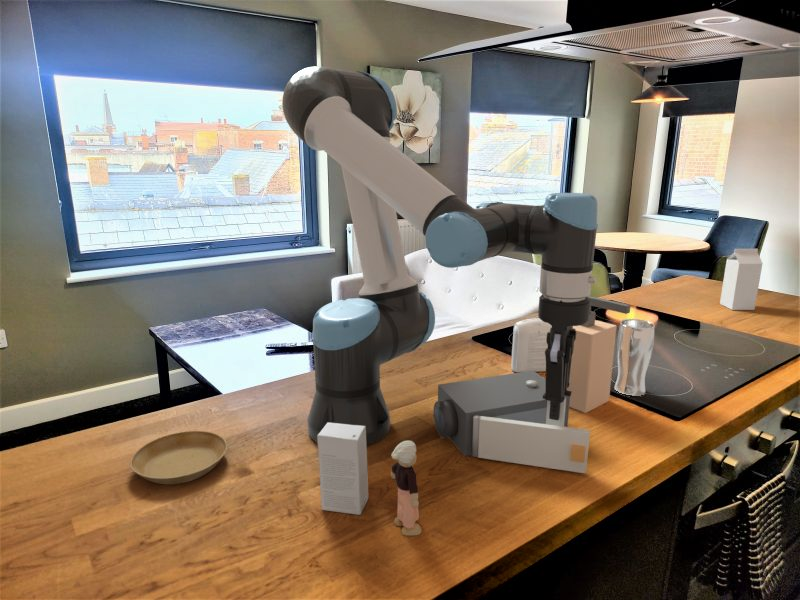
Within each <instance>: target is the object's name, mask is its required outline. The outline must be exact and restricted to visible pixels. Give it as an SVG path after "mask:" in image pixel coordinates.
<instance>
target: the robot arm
mask: <svg viewBox="0 0 800 600" xmlns="http://www.w3.org/2000/svg"><path fill="white" fill-rule="evenodd" d="M281 101H282V112H283V116H284V119H285V122H287V124H288V127H290V130H292V132H293V133H294V134H295V135H296V137H298V138H299V139H300V140H301V141H302V142H303V143H305V144H306V145H307V146H308V148H309V147H310V149H312V150H315V151H318V152H319V151H322V152H323V151H324V152H325V153H326V154H327V155H328V156H330V157H331V158H332V159H333V160H334V161H335V162H336V163H338V164H339V165H340V166H341V171H342V176H343V181H344V185H345V191H346V196H347V200H348V201H347V202H348V205H349V206H348V207H349V211H350V215H351V217H350V218H351V221H352V225H353V231H354V237H355V241H356V247H357V252H358V256H359V262H360V267H361V273H362V276H363V281H364V283H363V286H361V288H360V289H359V292H358V297H353V298H352V297H351V298H347V299H345V300H344V299H338V300H334V301H332V302H329V303H327V304H325V305H323V306H322V307H320V308H319V309H318V310H317V311H316V313H315V314H314V316H313V319H312V333H311V340H312V346H313V361H314V364H313V365H314V377H315V378H314V381H315V392H314V397H313V398H312V399H313V400H312V403H311V407H310V409H309V414H308V416H307V432H308V436H309V437H310V438H311V439H312V440H313V441H314V442H316V443H318V441H317V435H318V434H319V433H320V432H321V430H322V429H323V428H324V426H325V425H326V424H327V423H328V422H329V423H339V424H348V425H359V426H366V446H369V445H372V444H374V443H377V442H379V441H380V440H382V439H383V438H385V437H386V436H387V434H388V433H389V432H390V429H391V416H390V415H391V414H390V412H389V409H388V407H387V406H388V405H387V403H386V401H385V397H384V395H383V393H382V389H381V380H380V379H381V374H380V373H381V372H380V371H381V367H380V366H381V365H383V364H385V363H387V362H390V361H392V360H394V359H396V358H399V357H400V356H402V355H405V354H409V353H411V352H413V351H416V350H417V349H418V348H419V347H421V346H422V345H424V344H425V343H427V341H429V339H430V338H431V336H432V334H433V332H434V329H435V325H436V314H435V309H434V306H433V304H432V302H431V299H429V298H427V295H426V294H425V293H423V292H422V291H420V290H419V285H418V281H417V280H416V279H414V278H412V276H410V275H409V274H408V269H407V264H406V263H407V262H406V258H405V253H404V247H403V242H402V237H401V231H400V227H399V221H398V215H397V214H399V215H400V216H401V217H402V218H403V219H404V220H405V221H407V222H408V224H410V225H412V226H413V227H414V229H416V230H417V231H419V232H420V233H421V234H422V235H424V239H425V240H424V241H425V242H424V243H425V247H426V249H427V251H428V253H429V255H430V256H429V257H430V258H431V259H432V260H433V261H434V262H435V263H437V265H440V266H441V267H444V268H449V269H451V268H454V269H455V268H460V267H467V266H472V265H474V264H476V263H478V262H481V261H484V260H486V259H490V258H491V259H492V258H494V257H497V256H500V255H501V256H502V255H504V254H507V253H521V254H522V253H524V254H532V255H541V266H540V276H539V277H540V278H539V293H540V294H541V295H540V296H539V299H538V314H537V315H538V318H540V319H541V320H542V321H543V322H545V323H549V324H550V325H551V326H552V328H551V329H550V332H548V333H547V340H546V342H547V344H548V349H546V351H545V358H546V371H545V379H546V391H545V393H544V395H543V399H545V400H547V414H546V424H548V425H556V426H564V420H565V408H566V397H564V396H570V397H571V393H572V391H567V388H568V387H569V384H570V383H569V378H570V369H571V361H572V354H573V349H574V341H575V339H576V331H575V330H576V329H574V328H573V326H579V325H583V324H585V323H586V322H587V321H588V319H589V307H590V300H589V299H588V296H591V292H592V291H591V289H592V284H594V283H596V282H597V277H596V276H591V275H592V274H593V268H594V259H595V257H594V256H595V249H596V237H597V229H598V200H597V198H596V197H595V196H594V195H593V194H590V193H585V192H584V193H583V192H552V193H549V194H547V195H546V197H545V200H544V203H543V204H542V205H531V204H521V203H519V204H517V203H505V202H502V201H496V202H482V203H479V204H477V205H476V207H475V208H474V207H472V206H471V205H470V204H468V203H467V202H466V201H464V200H463V199H461V197H459V196H458V195H457V194H455V193H454V192H453V191H452V190H451V189H449V188H448V187H447V186H446V185H444V184H443V183H442V182H440V181H439V180H438V179H437V178H435V177H434V176H433V175H432V174H430V173H429V172H428V171H426V169H424V168H423V167H422V166H420V165H419V164H418V163H417V162H415V161H413V159H412V158H410V157H409V156H408V155H407V154H405V153H403V152H402V151H401V150H400V149H399V148H398V147H396V146H395V145H393V143H391V142H392V141H391V135H390V134H391V133H390V132H391V130H392V129H393V127H394V126H395V123H394V121H395V120H396V119H397V114H398V113H397V112H398V111H397V110H398V108H397V101H396V98H395V95H394V93H393V91H392V89H391V88H390V86H389V85H388V83H387V82H385V80H384V79H382V78H381V77H378V76H377V75H374V74H370V73H368V72H365V71H362V70H355V71H354V70H346V69H345V70H344V69H339V68H332V67H326V66H320V65H319V66H318V65H316V66H309V67H305V68H303V69H301V70H299V71H298V72H296V73H295V74H294V75H293V76H291V78H290V79H289V81H288V82H287V83H286V86H285V88H284V89H283V94H282V100H281Z"/></svg>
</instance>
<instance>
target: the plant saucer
mask: <svg viewBox="0 0 800 600" xmlns="http://www.w3.org/2000/svg"><path fill="white" fill-rule="evenodd" d="M227 449H228V442H227V440H226V439H225V438H224V437H223V436H221V435H220V434H218V433H215V432H212V431H206V430H205V431H204V430H186V431H179V432H174V433H170V434H166V435H163V436H161V437H158V438H156V439H153V440H151V441H149V442H147V443H146V444H144V445H142V446H141V447H140V448H139V449H137V451H135V452H134V453H133V455H132V457H131V458H130V464H129V465H130V469H131V470H133V472H135V473H136V474H137V475H138V476H139V477H141V478H143V479H145V480H147V481H150V482H152V483H155V484H160V485H179V484H185V483H188V482H190V481H194V480H197V479H199V478H201V477H203V476H205V475H206V474H207V473H210V472H211V471H212V470H213V469H214V468H215V467H216V466H217V465H218V464H219V463H220V462H221V460H222V459H223V457H224V456H225V454H226V452H227Z"/></svg>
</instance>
